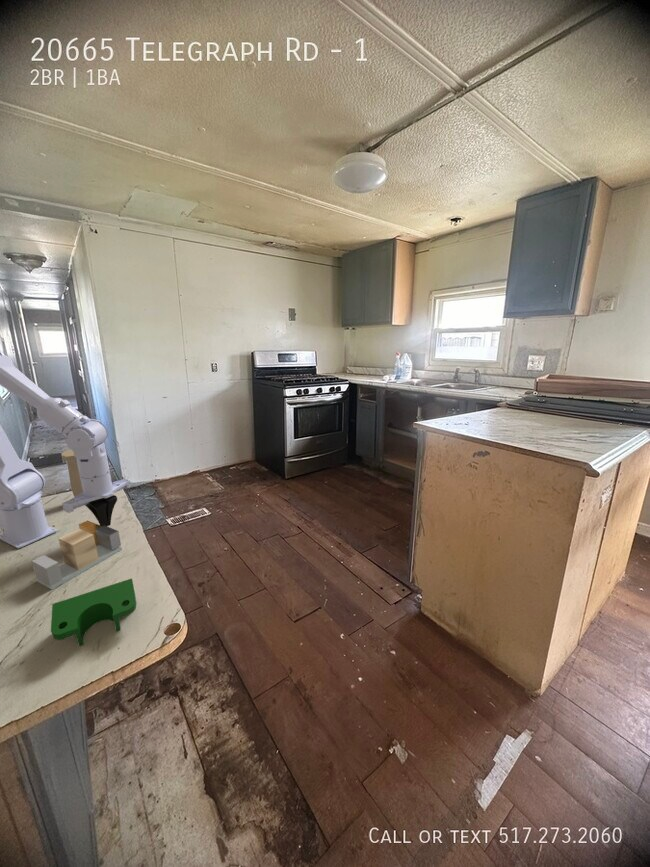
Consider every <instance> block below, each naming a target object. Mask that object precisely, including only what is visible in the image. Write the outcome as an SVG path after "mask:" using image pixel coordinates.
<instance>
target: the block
mask: <svg viewBox="0 0 650 867" xmlns="http://www.w3.org/2000/svg"><path fill="white" fill-rule="evenodd" d="M58 542H59V545H60V550H61V554H62V558H63V564H64V563H65V564H67V565H69V566H71V567H73V568H75V569H77V570H80V569H82V568H84V567H86V566H87V565H89V564H91V563H93V562H95V561H96V560H98V559H99V558H98V554H97V549H96V544H95V540H94V535H93V534H91V533H88V532H86V531H84V530H81V529H80V528H78V529H76V530H74V531H71V532H69V533H67V534H65V535H63V536H60V537H58Z"/></svg>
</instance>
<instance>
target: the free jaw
mask: <svg viewBox="0 0 650 867" xmlns="http://www.w3.org/2000/svg"><path fill="white" fill-rule="evenodd" d="M78 529H81V530H84V531H86V532H88V533H91V534H93V535H94V540H95V544H96V546H98V545H102V546H104V547H106V548H109V549H111V550H114V549H115V548H117V547H119V546H121V547H122V543H121V538H120V534H119V530H117V529H114V528H112V527H109V526H105V525H104V526H100V524H99V523H95V522H92V521H91V520H86V521H83V522H81V523H78Z"/></svg>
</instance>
